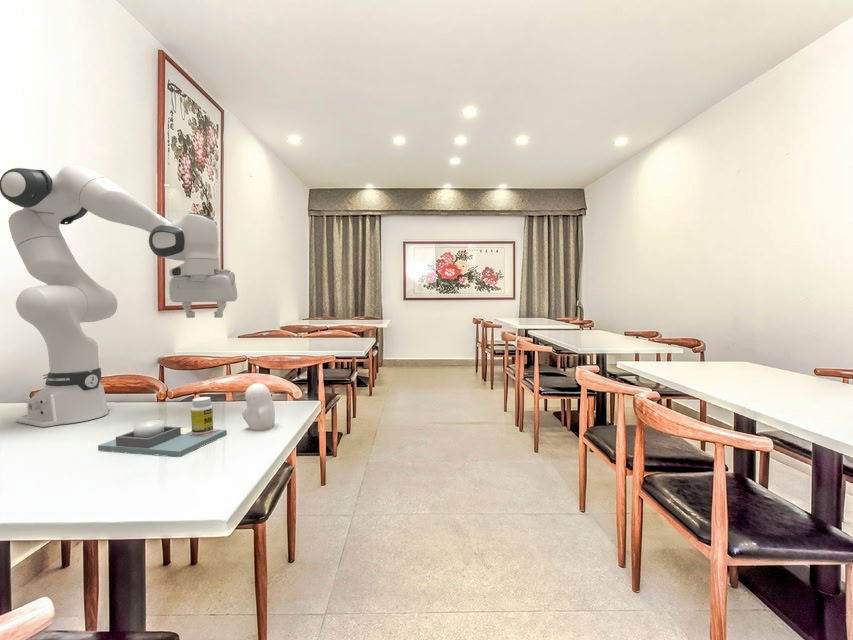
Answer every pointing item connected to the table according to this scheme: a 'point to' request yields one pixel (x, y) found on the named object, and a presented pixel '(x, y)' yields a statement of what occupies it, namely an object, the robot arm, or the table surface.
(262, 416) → the figurine
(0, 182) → the robot arm
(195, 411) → the supplement bottle
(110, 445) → the board
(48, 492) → the table surface
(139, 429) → the dome
